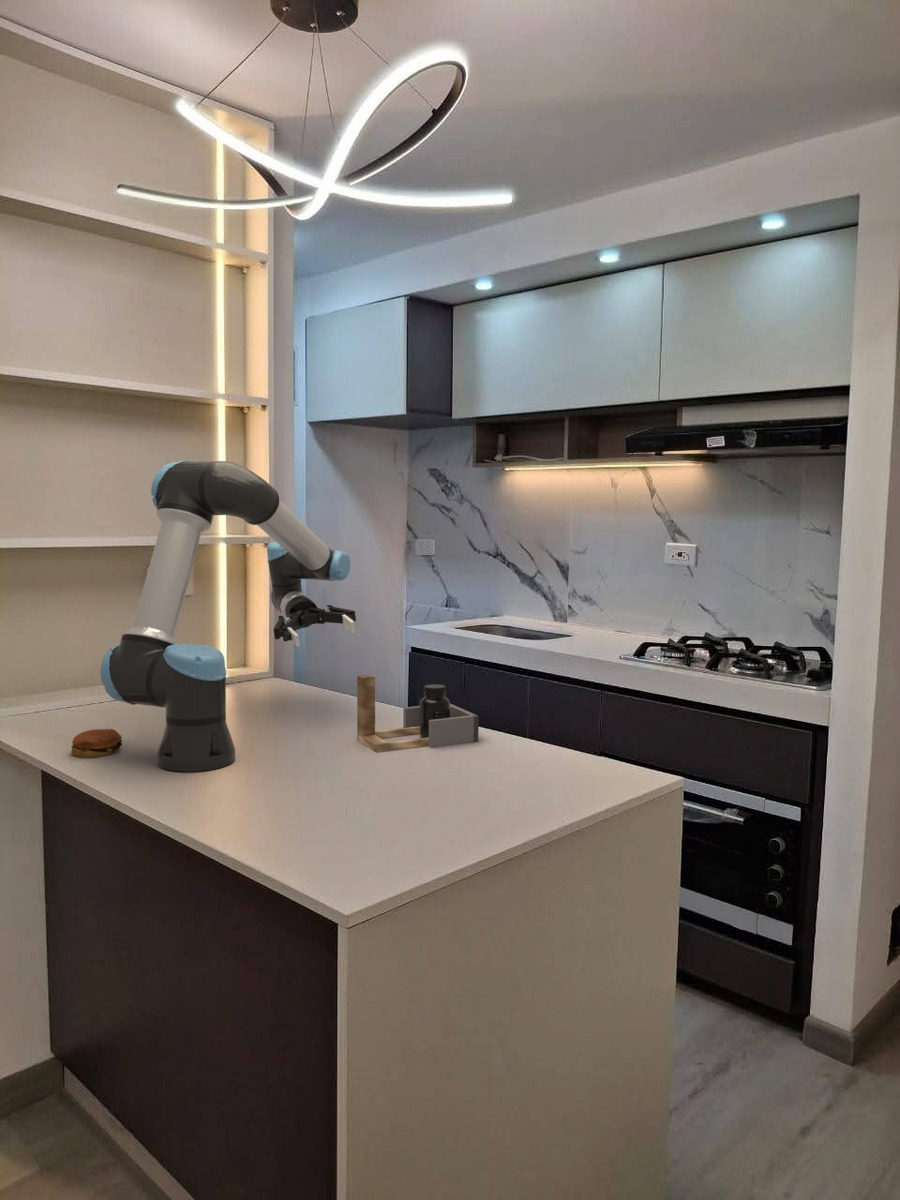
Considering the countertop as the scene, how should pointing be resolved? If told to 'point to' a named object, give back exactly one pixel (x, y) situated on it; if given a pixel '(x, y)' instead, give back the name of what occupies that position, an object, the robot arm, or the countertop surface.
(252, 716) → the countertop surface
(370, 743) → the wooden corner frame
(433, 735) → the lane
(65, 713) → the countertop surface
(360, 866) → the countertop surface
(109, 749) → the burger
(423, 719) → the supplement bottle
